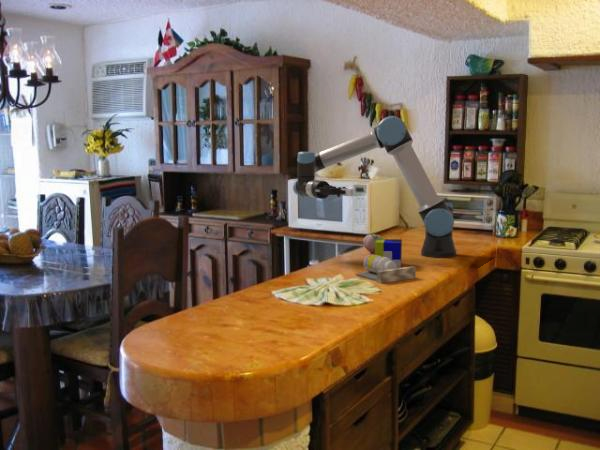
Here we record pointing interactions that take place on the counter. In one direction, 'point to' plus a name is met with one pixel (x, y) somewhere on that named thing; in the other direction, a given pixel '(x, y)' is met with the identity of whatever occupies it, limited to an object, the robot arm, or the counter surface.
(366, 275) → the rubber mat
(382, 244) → the puzzle toy
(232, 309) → the counter surface
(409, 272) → the backstop rail
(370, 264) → the supplement bottle
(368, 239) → the decorative fruit
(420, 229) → the counter surface
